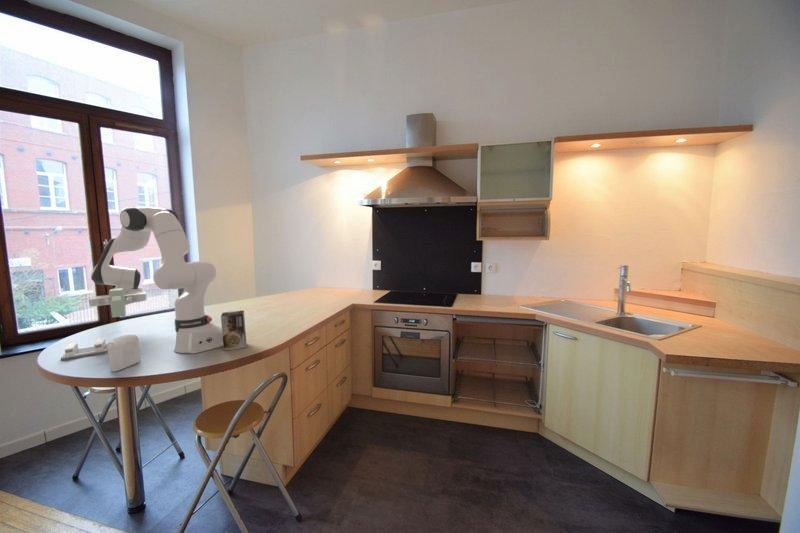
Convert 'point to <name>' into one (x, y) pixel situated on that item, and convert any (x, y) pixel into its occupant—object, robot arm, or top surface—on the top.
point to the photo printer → (123, 352)
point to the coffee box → (233, 330)
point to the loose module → (117, 302)
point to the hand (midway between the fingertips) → (117, 301)
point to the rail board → (84, 350)
